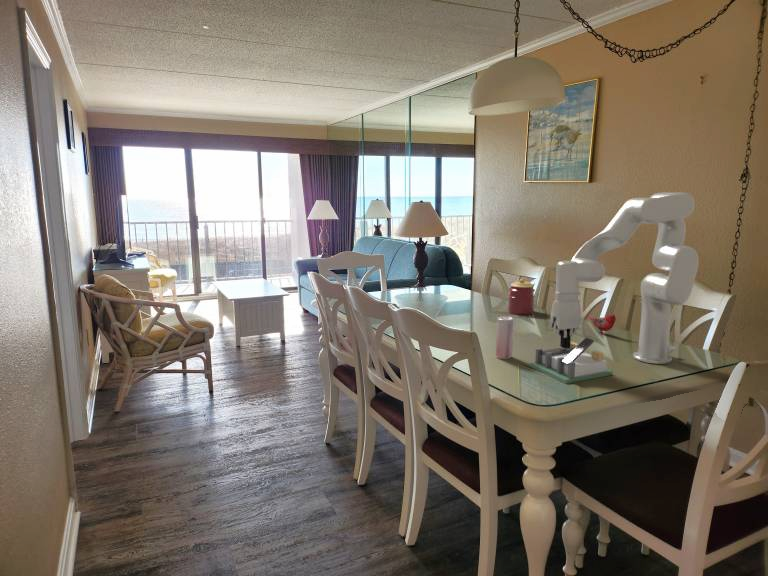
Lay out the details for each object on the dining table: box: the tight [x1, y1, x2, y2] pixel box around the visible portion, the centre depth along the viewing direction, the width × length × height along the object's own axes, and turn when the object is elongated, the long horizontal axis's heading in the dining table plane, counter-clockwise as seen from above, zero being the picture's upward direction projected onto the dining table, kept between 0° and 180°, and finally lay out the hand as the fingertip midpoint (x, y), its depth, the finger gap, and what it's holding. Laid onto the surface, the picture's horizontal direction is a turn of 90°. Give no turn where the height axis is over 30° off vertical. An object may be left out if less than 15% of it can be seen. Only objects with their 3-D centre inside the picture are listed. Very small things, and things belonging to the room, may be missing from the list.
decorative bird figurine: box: [586, 313, 617, 336], centre depth 222 cm, size 3×18×10 cm, turn 19°
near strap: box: [562, 337, 595, 365], centre depth 170 cm, size 12×3×1 cm
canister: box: [507, 277, 536, 316], centre depth 262 cm, size 13×13×18 cm
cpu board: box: [529, 341, 614, 384], centre depth 177 cm, size 20×18×7 cm
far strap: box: [541, 347, 574, 355], centre depth 181 cm, size 12×3×1 cm, turn 113°
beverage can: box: [495, 316, 514, 360], centre depth 191 cm, size 6×6×15 cm
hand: (565, 347), depth 182 cm, fingers closed
